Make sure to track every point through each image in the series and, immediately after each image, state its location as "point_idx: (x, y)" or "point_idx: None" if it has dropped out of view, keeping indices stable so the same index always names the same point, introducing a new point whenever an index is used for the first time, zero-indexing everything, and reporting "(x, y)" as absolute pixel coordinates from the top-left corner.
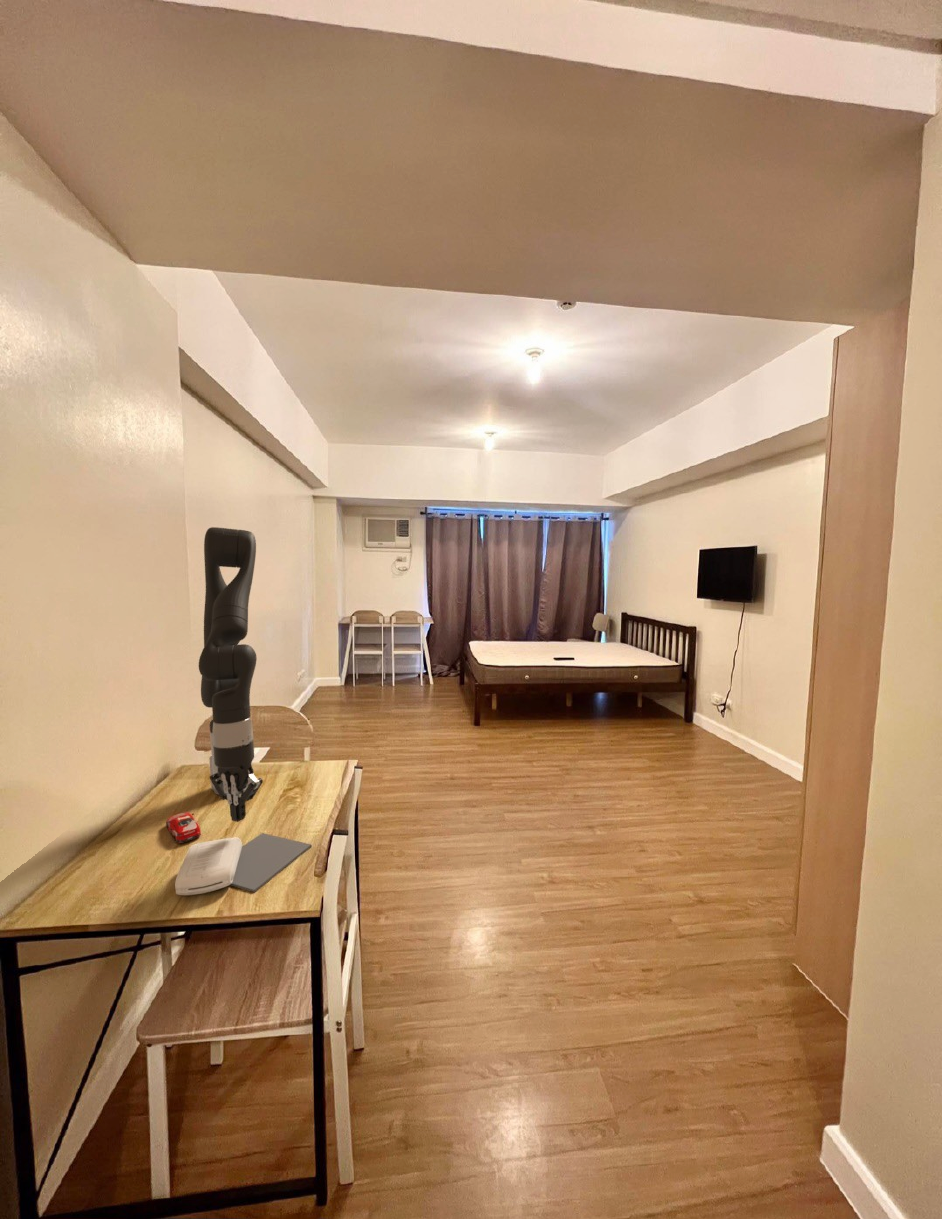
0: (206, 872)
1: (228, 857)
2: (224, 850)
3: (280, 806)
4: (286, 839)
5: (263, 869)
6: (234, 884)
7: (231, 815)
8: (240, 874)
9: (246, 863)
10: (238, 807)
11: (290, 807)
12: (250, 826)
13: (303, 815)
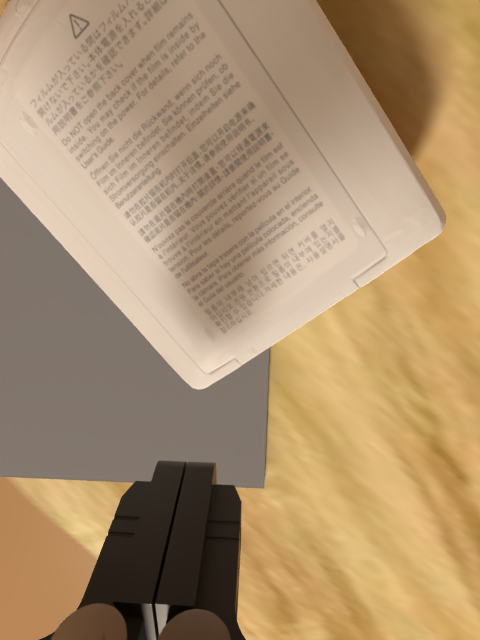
0: (42, 13)
1: (58, 210)
2: (147, 257)
3: (355, 626)
4: (123, 478)
5: (16, 293)
6: None
7: (206, 497)
8: None
9: None
10: (106, 586)
11: (309, 628)
12: (370, 513)
13: None
